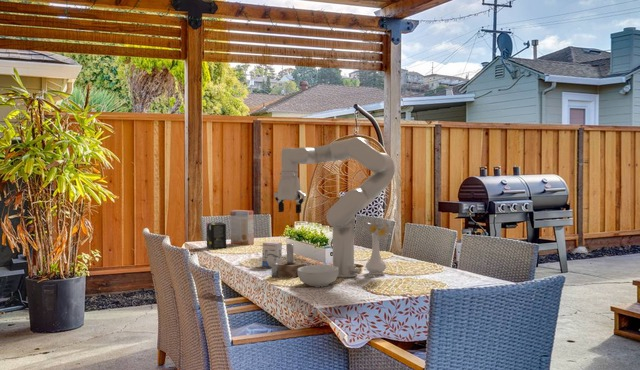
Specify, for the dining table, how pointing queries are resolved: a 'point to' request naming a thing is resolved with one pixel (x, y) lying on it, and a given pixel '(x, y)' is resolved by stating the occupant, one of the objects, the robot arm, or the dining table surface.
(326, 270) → the cereal bowl
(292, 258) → the long steel pin
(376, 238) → the flower vase
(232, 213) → the cracker box
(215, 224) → the tampon box
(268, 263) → the ink box
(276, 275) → the short steel pin
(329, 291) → the dining table surface
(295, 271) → the walnut hole block
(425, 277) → the dining table surface
